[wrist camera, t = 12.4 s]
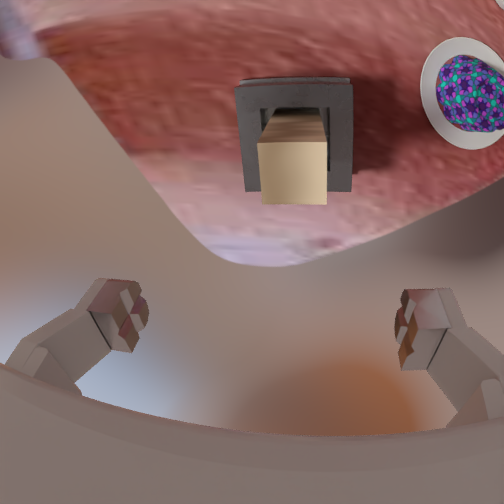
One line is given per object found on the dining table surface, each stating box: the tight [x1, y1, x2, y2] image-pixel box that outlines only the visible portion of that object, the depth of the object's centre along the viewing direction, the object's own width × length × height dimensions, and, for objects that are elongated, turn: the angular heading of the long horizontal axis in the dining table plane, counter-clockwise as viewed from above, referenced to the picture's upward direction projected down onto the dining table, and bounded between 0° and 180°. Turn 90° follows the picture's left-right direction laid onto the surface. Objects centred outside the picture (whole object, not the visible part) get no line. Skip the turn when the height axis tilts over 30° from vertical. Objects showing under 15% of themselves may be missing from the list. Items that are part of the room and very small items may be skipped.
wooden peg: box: [257, 109, 327, 205], centre depth 23 cm, size 4×4×12 cm
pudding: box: [420, 37, 504, 149], centre depth 21 cm, size 12×12×5 cm
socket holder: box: [234, 77, 353, 192], centre depth 27 cm, size 10×10×5 cm
